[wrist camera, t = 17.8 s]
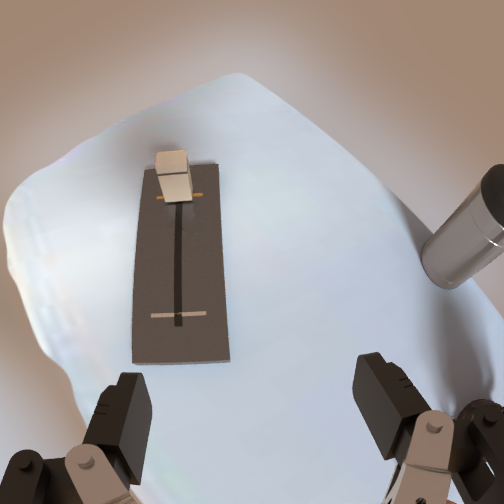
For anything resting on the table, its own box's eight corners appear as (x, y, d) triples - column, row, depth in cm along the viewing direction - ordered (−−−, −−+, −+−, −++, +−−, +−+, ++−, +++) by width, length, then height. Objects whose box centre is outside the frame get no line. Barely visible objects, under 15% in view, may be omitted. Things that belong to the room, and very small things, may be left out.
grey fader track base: (230, 362, 39) (230, 359, 37) (136, 365, 38) (132, 362, 36) (218, 171, 52) (218, 163, 50) (147, 177, 51) (144, 169, 49)
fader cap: (192, 200, 47) (185, 163, 39) (165, 202, 46) (154, 166, 39) (192, 186, 48) (186, 149, 41) (166, 188, 47) (156, 152, 40)
